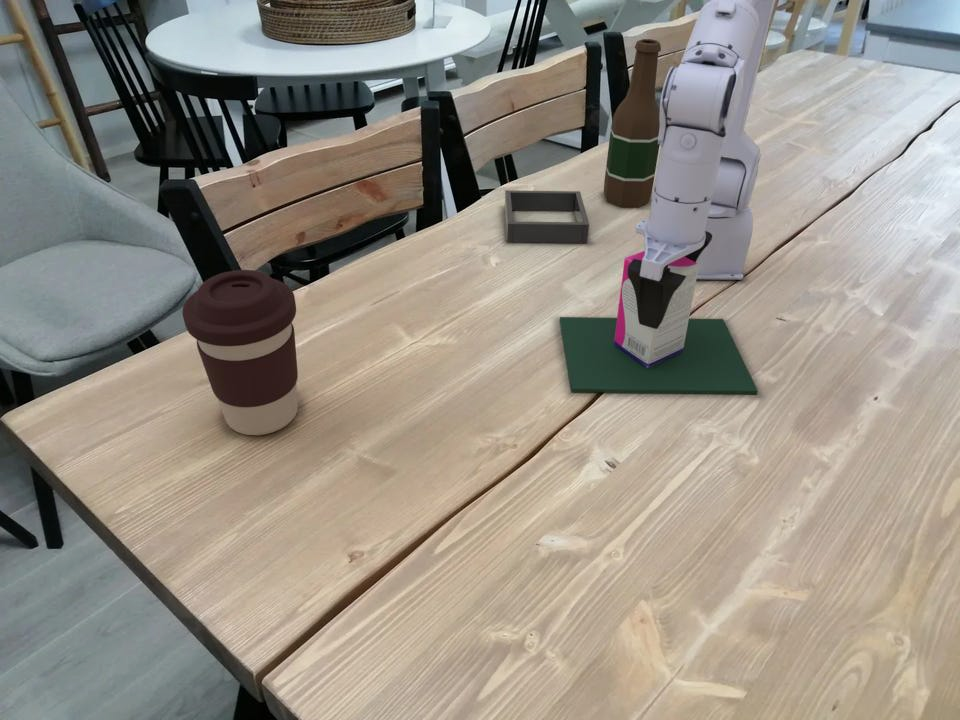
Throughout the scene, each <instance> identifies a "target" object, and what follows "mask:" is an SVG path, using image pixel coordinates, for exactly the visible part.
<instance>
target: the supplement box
mask: <svg viewBox="0 0 960 720" xmlns="http://www.w3.org/2000/svg"><path fill="white" fill-rule="evenodd" d="M644 256H645V250H643V251H640V252H637V253H635V254H632V255H628V256H626V257H625V258H624V260H623V270H622V276H621V277H622V278H621V284H620V293H619V301H618V308H617V317H616V318H617V324H616V332H615V339H614V345H615V346H617V347H618V348H620V349H621V350H622V351H624V352H625V353H627V354H628V355H630V356H631V357H632V358H634V359H635V360H637V361H638V362H639V363H641V364H642V365H644V366H645V367H646V368H649V367H652V366H654V365H656V364H657V363H660V362H661V361H663V360H666V359H668V358H670V357H672V356H674V355H676V354H678V353H680V352H682V351H683V347H684V342H685V337H686V332H687V326H688V321H689V319H690V315H691V311H692V304H693V299H694V295H695V290H696V282H697V280H698V279H697V274H698V269H699V264H698V263H696V262H694V261H692V260H690V259H688V258H686V257H682V258H680V259H678V260H676V261H674V262H672V263H670V264H669V265H668V268H670V272H673V273H677V274H681V275H685V276H686V278H685V280H684V281H683V282H682V284H681V285H680V286H679V287H678V288H677V290H676V291H675V292H674V294H673V296H672V298H671V300H670V302H669V305H668V308H667V310H666V313H665V316H664V318H663V320H662V322H661V324H660V326H659V327H658V329H654V328H651V327H647V326H644V325H641V324H639V320H638V311H637V302H636V295H635V291H634V288H633V285H632V283H631V281H630V279H629V277H628V275H627V270H628V265H629V264H630V263H631V261H632V260H633V259H637V260H641V261H642V259H643V257H644Z"/></svg>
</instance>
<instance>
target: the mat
mask: <svg viewBox="0 0 960 720" xmlns="http://www.w3.org/2000/svg"><path fill="white" fill-rule="evenodd" d="M559 324H560V325H559V326H560V332H561V337H562V343H563V349H564V356H565V361H566V362H565V363H566V369H567V375H568V381H569V388H570V392H571V393H599V394H600V393H603V394H605V393H607V394H608V393H609V394H611V393H612V394H613V393H615V394H623V393H624V394H697V395H698V394H700V395H701V394H703V395H758V392H759V390H758V388H757V386H756V384H755V382H754V380H753V377H752V376H751V373H750V372H749V369H748V367H747V365H746V363H745V361H744V359H743V357H742V355H741V353H740V350H739V349H738V347H737V345H736V343H735V340H734V338H733V337H732V334H731V332H730V330H729V328H728V325H727V324H726V322H725V320H724V319H723V318H689V321H688V326H687V332H686V337H685V342H684V347H683V351H682V352H680V353H678V354H676V355H674V356H672V357H670V358H668V359H666V360H663V361H661V362H660V363H657V364H656V365H654V366H652V367H649V368H646V367H645V366H644V365H642V364H641V363H639V362H638V361H637V360H635V359H634V358H632V357H631V356H630V355H628V354H627V353H625V352H624V351H622V350H621V349H620V348H618V347H617V346H615V345H614V339H615V332H616V324H617V317H592V316H591V317H589V316H588V317H587V316H586V317H585V316H583V317H582V316H581V317H579V316H578V317H577V316H573V317H572V316H560V317H559Z"/></svg>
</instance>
